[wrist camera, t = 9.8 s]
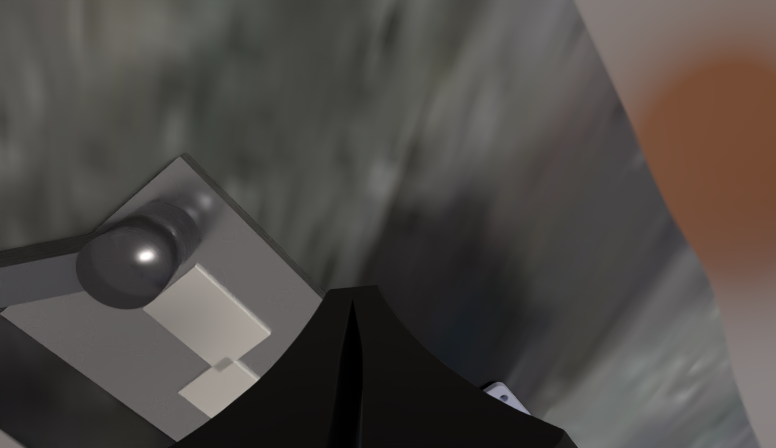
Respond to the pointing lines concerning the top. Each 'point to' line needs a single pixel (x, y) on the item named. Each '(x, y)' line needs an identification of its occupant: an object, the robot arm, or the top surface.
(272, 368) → the robot arm
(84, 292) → the lid
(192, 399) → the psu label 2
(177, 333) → the psu label
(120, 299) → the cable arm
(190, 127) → the top surface
